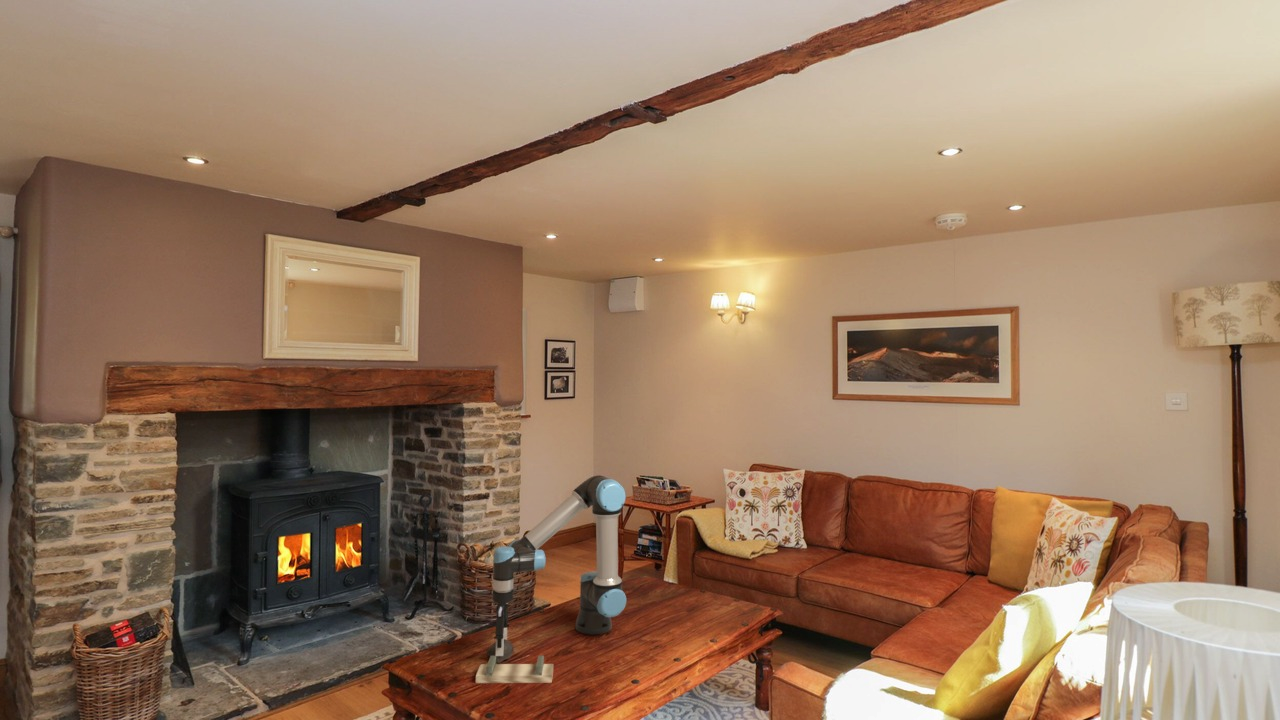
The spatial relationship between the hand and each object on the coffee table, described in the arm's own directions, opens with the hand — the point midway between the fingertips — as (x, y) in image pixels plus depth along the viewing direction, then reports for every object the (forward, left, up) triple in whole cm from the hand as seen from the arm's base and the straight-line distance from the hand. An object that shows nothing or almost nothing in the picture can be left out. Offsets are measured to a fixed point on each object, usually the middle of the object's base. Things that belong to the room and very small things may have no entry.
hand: (501, 650), depth 254 cm
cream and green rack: (-7, +15, -3) cm, 17 cm away
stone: (+1, -1, -3) cm, 3 cm away
